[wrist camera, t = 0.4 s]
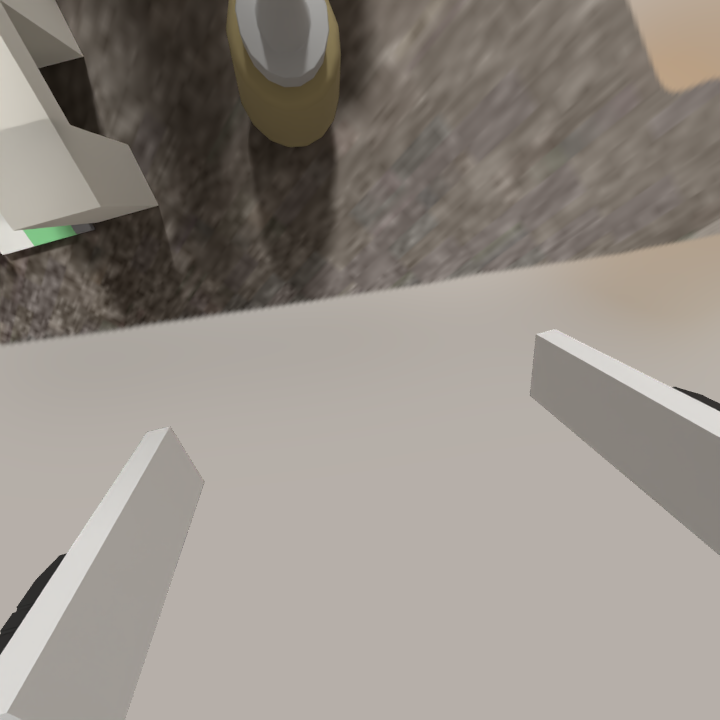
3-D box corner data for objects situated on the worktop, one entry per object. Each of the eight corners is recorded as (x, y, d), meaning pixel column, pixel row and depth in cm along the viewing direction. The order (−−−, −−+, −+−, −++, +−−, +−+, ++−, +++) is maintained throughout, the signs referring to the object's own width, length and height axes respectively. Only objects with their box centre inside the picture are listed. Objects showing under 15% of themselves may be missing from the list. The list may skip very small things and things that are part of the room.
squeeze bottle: (289, 173, 31) (279, 142, 15) (223, 88, 27) (117, -71, 11) (352, 112, 30) (413, 7, 14) (291, 14, 26) (278, -282, 10)
